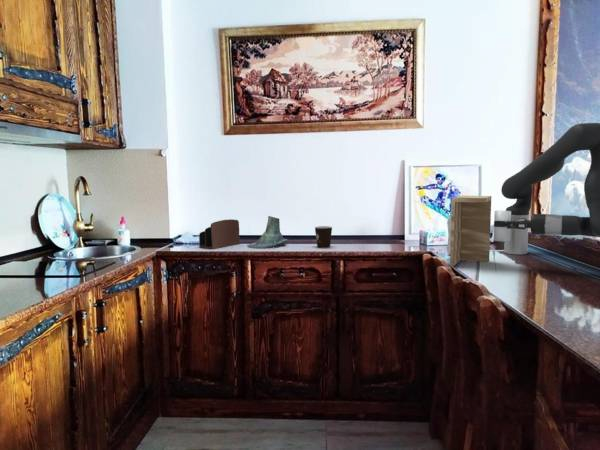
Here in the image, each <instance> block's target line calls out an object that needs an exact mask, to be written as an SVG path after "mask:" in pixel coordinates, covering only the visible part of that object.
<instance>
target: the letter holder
mask: <svg viewBox="0 0 600 450" xmlns="http://www.w3.org/2000/svg"><path fill="white" fill-rule="evenodd" d="M198 239H199V243H198V244H199V247H198V248H199V249H206V250H216V249H217V250H218V249H222V248H226V247H232V246H237V245H240V244H241V240H240V239H241V238H240V221H239V220H238V219H233V218H232V219H230V218H229V219H221V220H217V221H214V222H212V223H210V226H208V227H206V228H205V229H204V231H201V232H199V233H198Z"/></svg>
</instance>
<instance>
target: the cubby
mask: <svg viewBox="0 0 600 450" xmlns="http://www.w3.org/2000/svg"><path fill="white" fill-rule="evenodd" d="M450 202H451V206H450V207H451V209H450V216H451V244H450V255H449V256H450V257H449V267H450V268H454V267H455V266H456V265H457V264H458V263H459V262H461V261H471V262H480V263H481V262H484V263H490V255H491V254H490V253H491V252H490V249H491V247H490V246H491V219H492V218H491V217H492V216H491V215H492V195H456V196H454V197H453V196H452V197H451V201H450Z"/></svg>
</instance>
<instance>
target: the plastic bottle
mask: <svg viewBox="0 0 600 450" xmlns="http://www.w3.org/2000/svg"><path fill="white" fill-rule="evenodd" d="M446 222H447V223H446V224H447V231H448V232H447V235H448V237H447V245H446V253H447V254H448V255H449V256H450V244H451V215H450V216H449V217H448V219H447V221H446Z"/></svg>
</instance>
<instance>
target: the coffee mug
mask: <svg viewBox="0 0 600 450" xmlns="http://www.w3.org/2000/svg"><path fill="white" fill-rule="evenodd" d="M314 231H315V238H316V239H315V240H316V245H317V248H318V249H327V248H331V243H332V242H331V241H332V232H333V226H329V225H328V226H325V225H324V226H323V225H321V226H315V227H314Z"/></svg>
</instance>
